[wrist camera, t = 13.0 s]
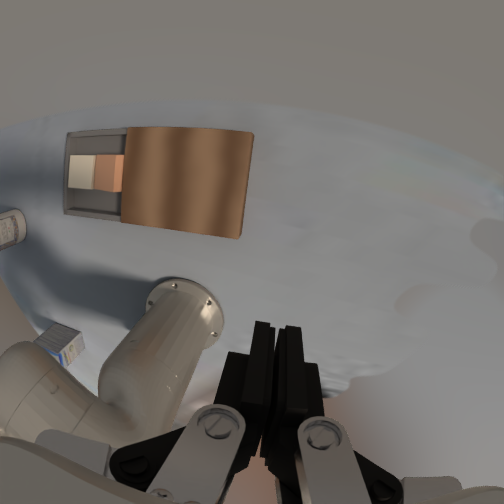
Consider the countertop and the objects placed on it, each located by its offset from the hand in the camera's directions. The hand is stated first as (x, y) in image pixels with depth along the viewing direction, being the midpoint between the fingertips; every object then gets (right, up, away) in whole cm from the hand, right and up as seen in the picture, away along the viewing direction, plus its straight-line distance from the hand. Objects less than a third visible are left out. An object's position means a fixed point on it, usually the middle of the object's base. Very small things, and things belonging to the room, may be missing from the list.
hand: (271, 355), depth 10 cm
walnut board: (-9, +14, +25) cm, 30 cm away
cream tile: (-26, +16, +24) cm, 39 cm away
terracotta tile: (-20, +15, +24) cm, 35 cm away
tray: (-24, +16, +26) cm, 39 cm away
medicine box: (-39, -14, +37) cm, 55 cm away
